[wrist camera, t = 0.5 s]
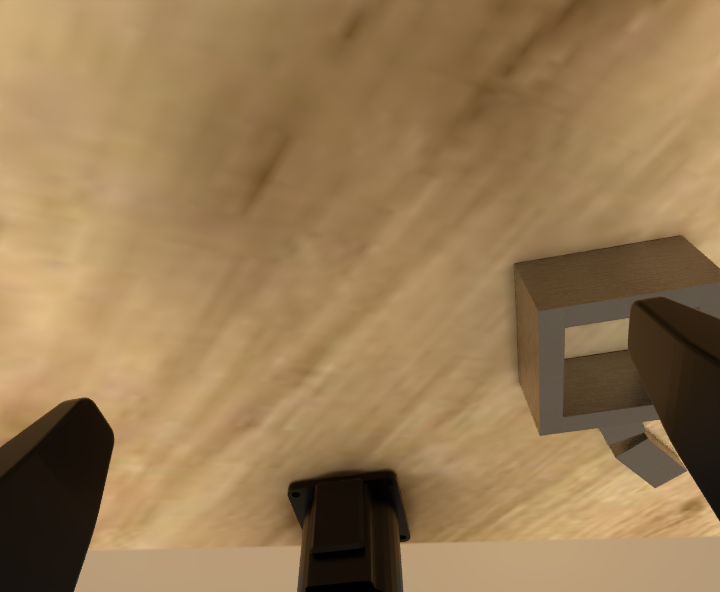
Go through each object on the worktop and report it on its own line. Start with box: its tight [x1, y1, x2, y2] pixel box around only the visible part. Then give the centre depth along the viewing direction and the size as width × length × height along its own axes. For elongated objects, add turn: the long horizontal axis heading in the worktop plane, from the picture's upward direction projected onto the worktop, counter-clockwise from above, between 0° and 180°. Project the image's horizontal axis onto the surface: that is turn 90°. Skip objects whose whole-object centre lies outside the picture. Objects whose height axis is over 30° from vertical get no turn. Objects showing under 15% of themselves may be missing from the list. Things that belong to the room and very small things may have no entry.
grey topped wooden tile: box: [599, 422, 646, 445], centre depth 27 cm, size 4×2×1 cm, turn 31°
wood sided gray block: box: [609, 429, 687, 488], centre depth 29 cm, size 4×2×1 cm, turn 48°
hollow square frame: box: [514, 236, 720, 436], centre depth 23 cm, size 7×7×4 cm
